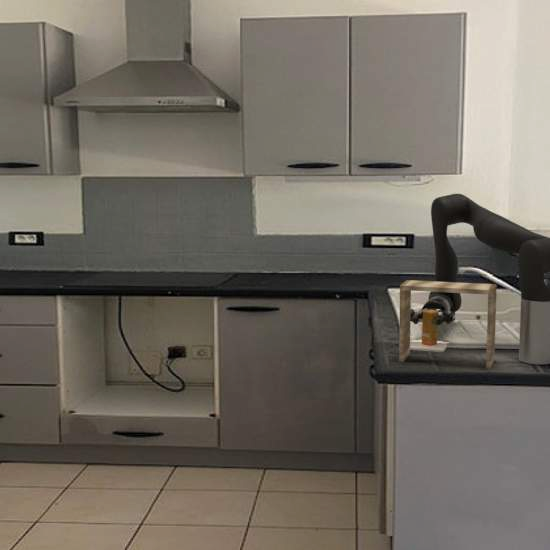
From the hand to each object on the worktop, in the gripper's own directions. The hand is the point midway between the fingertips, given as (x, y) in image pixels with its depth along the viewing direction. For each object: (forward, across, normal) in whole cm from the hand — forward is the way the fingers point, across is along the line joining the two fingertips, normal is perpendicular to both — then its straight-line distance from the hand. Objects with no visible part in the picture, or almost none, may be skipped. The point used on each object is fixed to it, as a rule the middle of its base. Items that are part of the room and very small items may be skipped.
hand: (426, 321), depth 240 cm
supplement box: (-3, +1, +8) cm, 8 cm away
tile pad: (-2, 0, +8) cm, 8 cm away
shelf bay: (+13, +8, +8) cm, 17 cm away
